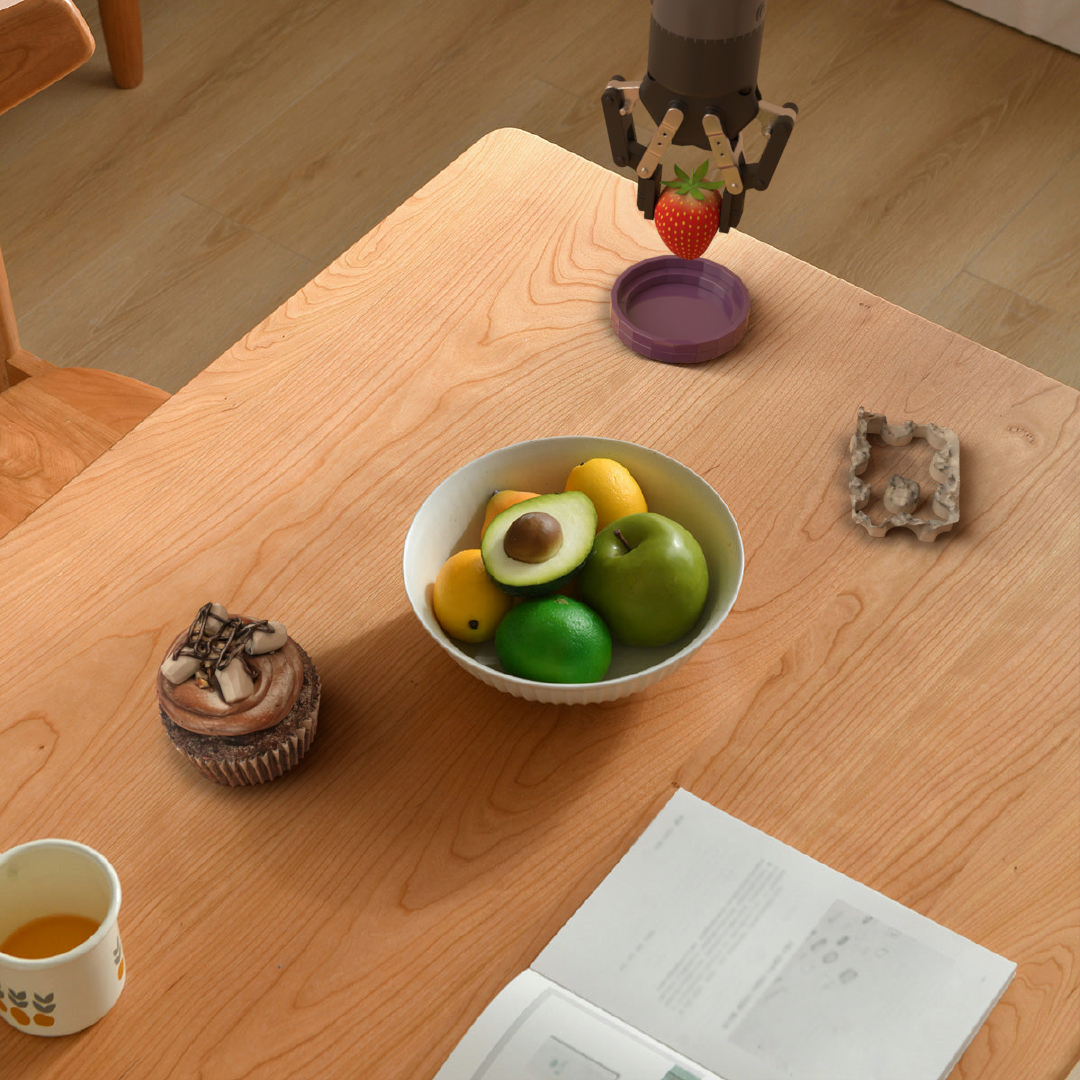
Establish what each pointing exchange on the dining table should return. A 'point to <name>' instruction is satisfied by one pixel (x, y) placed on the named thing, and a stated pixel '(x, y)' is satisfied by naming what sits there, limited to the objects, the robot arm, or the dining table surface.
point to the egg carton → (903, 490)
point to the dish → (679, 309)
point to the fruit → (688, 212)
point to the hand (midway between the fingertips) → (688, 219)
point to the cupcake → (238, 697)
